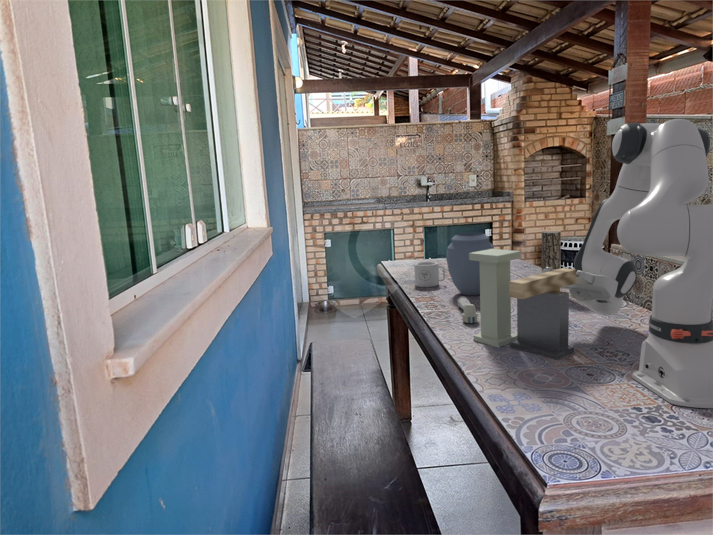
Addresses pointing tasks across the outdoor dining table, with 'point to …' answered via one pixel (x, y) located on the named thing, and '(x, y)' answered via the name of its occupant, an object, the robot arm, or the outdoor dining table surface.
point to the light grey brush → (467, 310)
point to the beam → (542, 283)
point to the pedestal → (495, 296)
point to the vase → (466, 261)
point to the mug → (427, 274)
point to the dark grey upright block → (544, 325)
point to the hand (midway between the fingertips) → (563, 271)
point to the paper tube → (551, 249)
